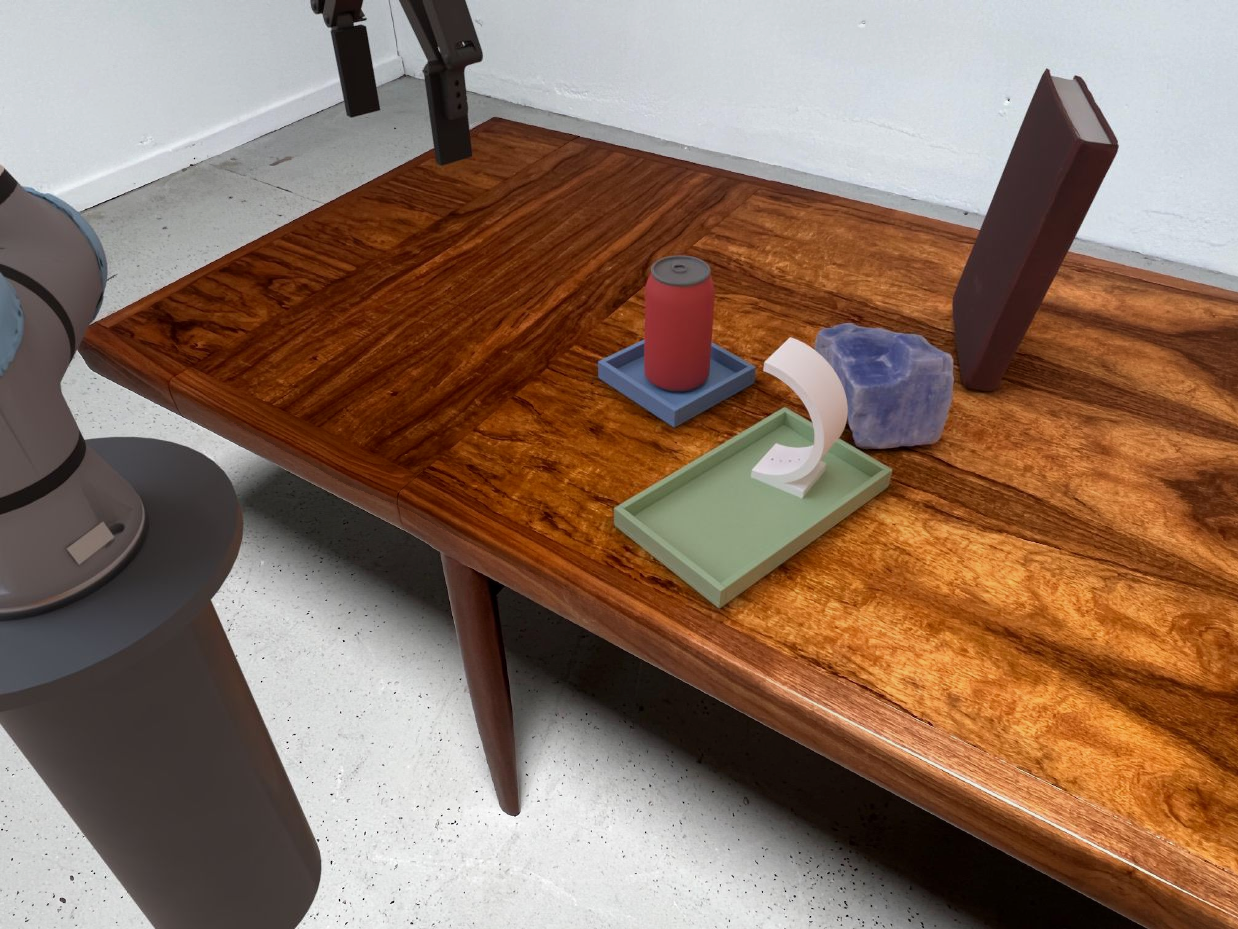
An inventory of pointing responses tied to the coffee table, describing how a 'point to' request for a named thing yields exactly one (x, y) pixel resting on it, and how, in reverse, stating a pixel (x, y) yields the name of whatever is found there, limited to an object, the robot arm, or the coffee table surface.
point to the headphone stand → (826, 410)
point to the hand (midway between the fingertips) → (406, 135)
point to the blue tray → (668, 405)
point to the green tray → (745, 508)
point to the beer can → (678, 323)
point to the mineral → (889, 384)
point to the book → (1030, 225)
